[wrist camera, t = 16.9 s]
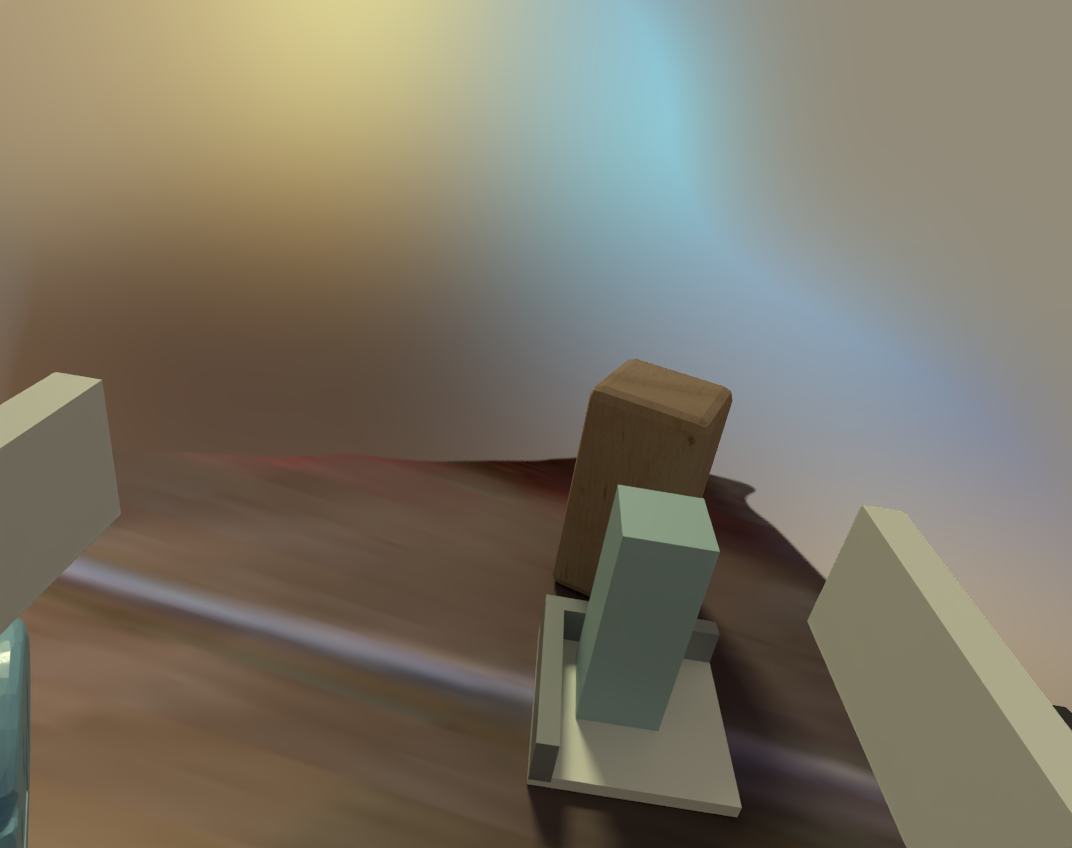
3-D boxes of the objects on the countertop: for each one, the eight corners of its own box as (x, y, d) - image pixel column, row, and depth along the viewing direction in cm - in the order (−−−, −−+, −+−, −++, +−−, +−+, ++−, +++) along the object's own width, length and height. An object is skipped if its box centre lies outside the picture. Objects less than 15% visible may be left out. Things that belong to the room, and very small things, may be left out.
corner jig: (526, 784, 45) (536, 742, 43) (538, 631, 57) (546, 594, 56) (737, 817, 45) (755, 777, 43) (703, 658, 57) (716, 621, 56)
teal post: (575, 718, 49) (622, 536, 42) (575, 655, 54) (617, 484, 47) (658, 731, 49) (719, 551, 42) (650, 667, 54) (703, 498, 47)
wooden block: (649, 629, 60) (711, 426, 51) (547, 582, 63) (588, 385, 54) (680, 569, 68) (738, 386, 59) (588, 531, 71) (629, 352, 62)
